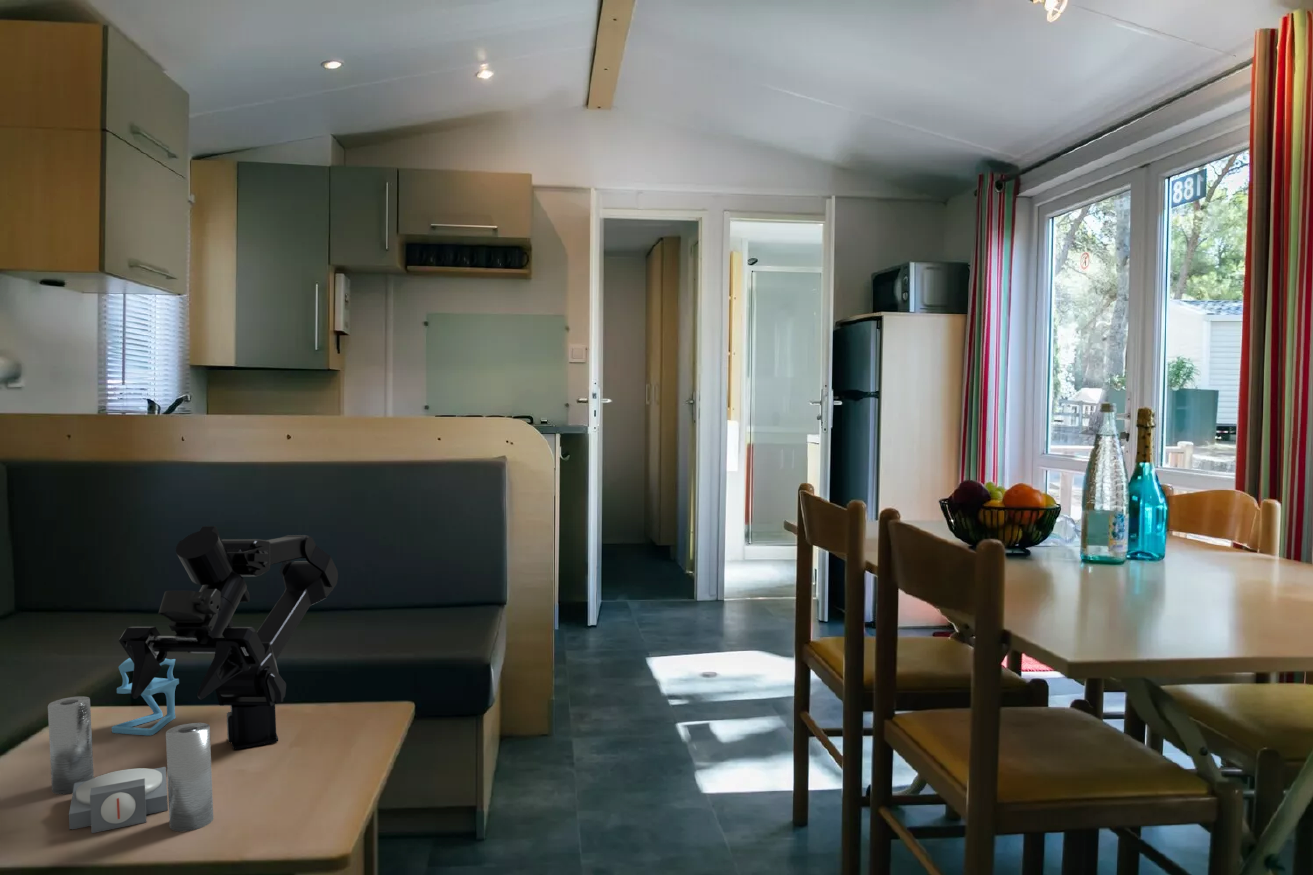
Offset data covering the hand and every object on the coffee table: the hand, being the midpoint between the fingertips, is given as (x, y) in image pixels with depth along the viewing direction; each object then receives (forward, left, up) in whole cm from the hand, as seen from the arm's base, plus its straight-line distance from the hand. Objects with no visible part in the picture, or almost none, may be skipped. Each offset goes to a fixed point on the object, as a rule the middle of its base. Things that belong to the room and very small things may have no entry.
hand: (166, 697), depth 126 cm
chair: (+2, -35, -15) cm, 38 cm away
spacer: (+12, -13, -14) cm, 22 cm away
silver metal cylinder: (-2, +8, -14) cm, 17 cm away
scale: (+6, -1, -14) cm, 15 cm away
